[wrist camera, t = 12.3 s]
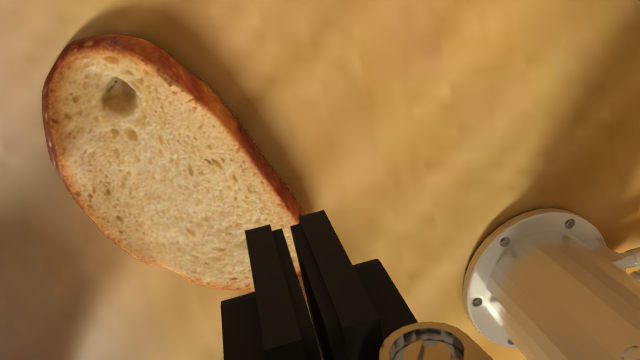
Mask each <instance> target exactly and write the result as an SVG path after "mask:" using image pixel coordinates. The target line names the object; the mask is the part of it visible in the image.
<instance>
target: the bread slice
mask: <svg viewBox="0 0 640 360" xmlns="http://www.w3.org/2000/svg"><path fill="white" fill-rule="evenodd" d="M42 116H43V124H44V129H45V136H46V142H47V147H48V152H49V155H50V159H51V161H52V164H53V166H54V168H55V169H56V171H57V172H58V174H59V175H60V177H61V178H62V180H63V181H64V183H65V185H66V187H67V188H68V190H69V192H70V194H71V195H72V197H73V198H74V200H75V201H76V202H77V204H78V205H79V206H80V207H81V208H82V209H83V210H84V212H85V213H86V214H87V215H88V216H89V217H90V218H91V219H92V220H93V221H94V222H95V224H96V225H97V226H98V227H99V229H100V230H101V232H102V233H103V234H104V235H105V236H107V237H108V238H109V239H111V240H112V241H113V242H115V243H116V244H117V245H118V246H119V247H120V248H122V249H123V250H124V251H126V252H128V253H129V254H131V255H132V256H133V257H135V258H136V259H138V260H139V261H141V262H144V263H146V264H150V265H156V266H161V267H165V268H168V269H170V270H172V271H174V272H176V273H178V274H180V275H182V276H183V277H185V278H186V279H188V280H189V281H191V282H193V283H196V284H199V285H202V286H207V287H211V288H215V289H223V290H234V291H244V292H253V291H255V289H254V283H253V277H252V271H251V266H250V260H249V254H248V248H247V242H246V236H245V230H249V229H253V228H257V227H261V226H265V225H268V224H270V225H271V229H272V231H273V230H277V229H280V228H282V229H283V233H284V236H285V239H286V242H287V245H288V248H289V251H290V255H291V258H292V261H293V264H294V267H295V270H296V274H297V276H298V275H299V274H300V273H301V271H300V267H299V263H298V259H297V254H296V250H295V246H294V242H293V237H292V233H291V228H290V226H292V225H296V224H299V219H298V217H299V216H303V215H304V213H303V212H302V210H301V208H300V206H299V205H298V203H297V201H296V200H295V199H294V197H293V196H292V194H291V193H290V191H289V190H288V188H287V187H286V185H285V184H284V183H283V182H282V181H281V180H280V178H279V177H278V176H277V175H276V173H275V172H274V170H273V169H272V168H271V166H270V165H269V164H268V162H267V161H266V159H265V158H264V157H263V155H262V154H261V152H260V151H259V150H258V148H257V147H256V145H255V144H254V143H253V141H252V140H251V138H250V137H249V136H248V134H247V133H246V131H245V130H244V129H243V127H242V126H241V125H240V124H239V122H238V121H237V120H236V119H235V117H234V116H233V115H232V114H231V113H230V111H229V110H228V109H227V108H226V107H225V106H224V105H223V103H222V102H221V101H220V100H219V98H218V97H217V96H216V94H215V93H214V92H213V91H212V90H211V89H210V88H209V87H208V86H207V85H206V84H205V83H204V82H203V81H201V80H200V79H198V78H196V77H194V76H193V75H192V74H190V73H189V72H188V71H187V70H186V69H185V68H184V67H183V66H182V65H181V64H180V63H178V62H177V61H176V60H175V59H174V58H172V57H171V56H170V55H169V54H167V53H166V52H165V51H163V50H162V49H160V48H159V47H157V46H156V45H154V44H152V43H151V42H149V41H147V40H145V39H141V38H136V37H132V36H126V35H111V34H107V35H101V36H97V37H91V38H87V39H82V40H77V41H74V42H72V43H71V44H69V45H68V46H67V47H66V48H65V49H64V50H63V51H62V53H61V54H60V56H59V58H58V60H57V61H56V63H55V64H54V66H53V68H52V70H51V71H50V73H49V75H48V77H47V79H46V81H45V84H44V87H43V91H42Z"/></svg>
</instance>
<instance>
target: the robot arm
mask: <svg viewBox="0 0 640 360" xmlns="http://www.w3.org/2000/svg"><path fill="white" fill-rule="evenodd" d="M298 219H299V224H296V225H292V226H290V228H291V233H292V237H293V242H294V246H295V250H296V254H297V259H298V263H299V267H300V271H301V276H302V280H303V284H304V288H305V293H306V297H307V301H308V305H309V310H310V314H311V318H312V321H311V318H310V315H309V311H308V308H307V305H306V302H305V299H304V296H303V293H302V289H301V286H300V283H299V280H298V277H297V274H296V270H295V267H294V264H293V261H292V258H291V255H290V251H289V248H288V245H287V242H286V239H285V236H284V233H283V229H282V228H280V229H277V230H273V231H272V229H271V225H270V224H268V225H265V226H261V227H257V228H253V229H249V230H245V236H246V242H247V248H248V254H249V260H250V266H251V271H252V277H253V283H254V289H255V292H253V293H249V294H246V295H242V296H238V297H235V298H231V299H227V300H224V301H221V317H222V334H223V350H224V360H322V359H323V360H493V359H492V358H491V357H490V356H489V355H488V354H487V353H486V352H485V351H484V350H483V349H482V348H481V347H480V346H479V345H478V344H477V343H476V342H474V341H473V340H472V339H471V338H470V337H469V336H468V335H467V334H466V333H464V332H463V331H461V330H460V329H458V328H457V327H454V326H451V325H448V324H445V323H438V322H420V323H418V322H417V320H416V319H415V317H414V315H413V314H412V312H411V310H410V309H409V307H408V306H407V304H406V302H405V301H404V299H403V298H402V296H401V294H400V293H399V291H398V289H397V288H396V286H395V285H394V283H393V281H392V280H391V278H390V277H389V275H388V273H387V272H386V270H385V268H384V267H383V265H382V264H381V262H380V261H379V260H378V259H374V260H370V261H366V262H363V263H359V264H356V265H352V264H351V262H350V260H349V258H348V256H347V254H346V252H345V250H344V248H343V246H342V244H341V242H340V240H339V238H338V237H337V235H336V233H335V231H334V229H333V227H332V225H331V223H330V221H329V219H328V217H327V215H326V213H325V211H324V210H322V211H318V212H315V213H311V214H307V215H303V216H299V217H298ZM636 266H640V247H638V248H634V249H631V250H628V251H626V252H624V253H620V254H619V253H617V252H614V251H612V250H611V249H609V248H608V247H607V246H606V243H605V241H604V238H603V236H602V235H601V234H600V232H599V231H598V229H597V228H596V227H595V226H593V225H592V224H591V223H590V222H589V221H587V220H586V219H584V218H582V217H581V216H579V215H577V214H575V213H573V212H570V211H567V210H563V209H554V208H548V209H537V210H533V211H530V212H526V213H523V214H521V215H519V216H516V217H514V218H512V219H510V220H508V221H507V222H505V223H504V224H503V225H501V226H500V227H498V228H497V229H496V230H495V231H493V232H492V233H491V234H490V235H489V236H488V237H487V238H486V239H485V240H484V242H483V243H482V244H481V245H480V247H479V248H478V249H477V250H476V252H475V254H474V256H473V258H472V259H471V261H470V263H469V266H468V269H467V272H466V274H465V278H464V285H463V301H464V305H465V309H466V312H467V314H468V316H469V318H470V320H471V322H472V323H473V324H474V326H475V327H476V328H477V329H478V331H479V332H480V333H481V334H482V335H483V336H485V337H486V338H487V339H488V340H490V341H492V342H494V343H496V344H498V345H500V346H504V347H508V348H518V349H519V350H520V351H521V353H522V354H523V355H524V356H525V357H526V359H527V360H640V270H638V271H634V272H632V273H631V274H628V273H626V268H630V267H636ZM312 322H313V324H312ZM320 353H321V354H320ZM321 356H322V358H321Z"/></svg>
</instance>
